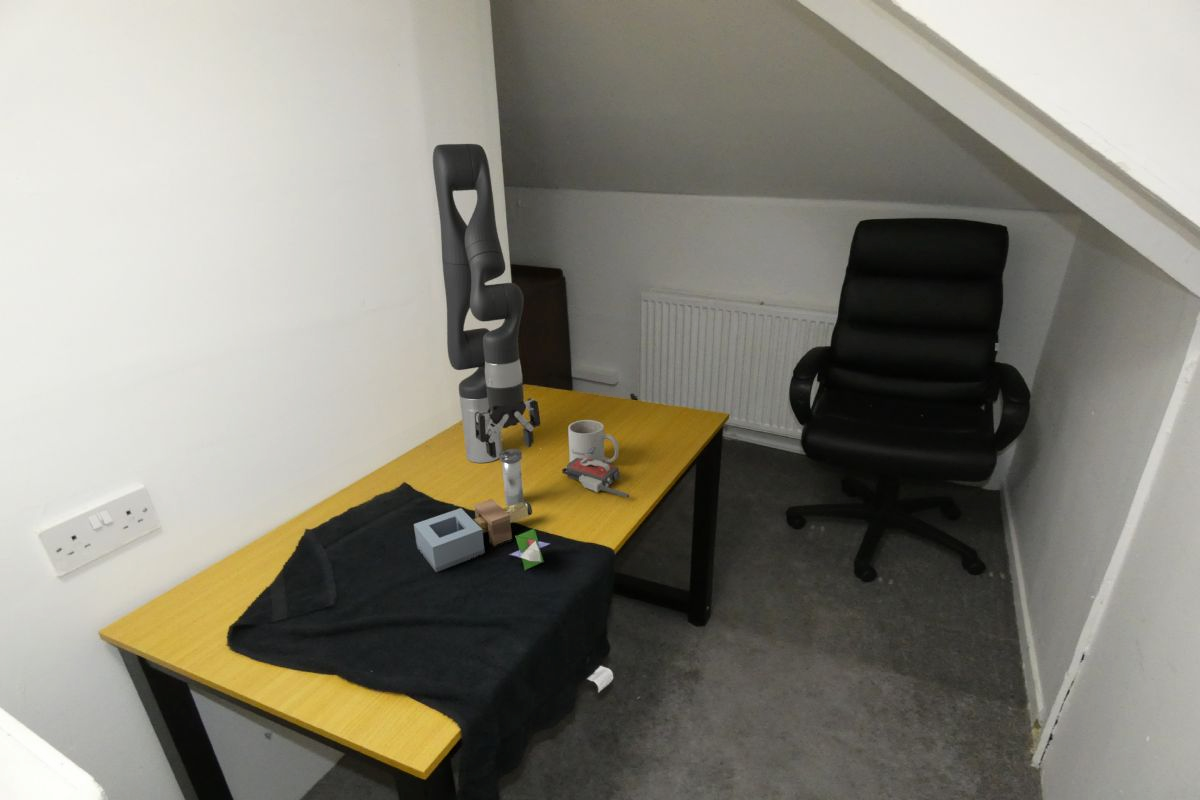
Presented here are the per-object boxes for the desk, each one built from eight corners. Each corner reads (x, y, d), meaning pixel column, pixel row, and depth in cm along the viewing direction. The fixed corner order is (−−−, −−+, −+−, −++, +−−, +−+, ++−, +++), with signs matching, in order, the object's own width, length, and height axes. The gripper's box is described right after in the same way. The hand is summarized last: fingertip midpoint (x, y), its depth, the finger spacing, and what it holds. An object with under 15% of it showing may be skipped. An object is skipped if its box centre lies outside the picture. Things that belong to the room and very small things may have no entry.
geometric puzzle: (500, 548, 126) (510, 530, 120) (530, 535, 130) (541, 517, 124) (517, 580, 124) (528, 564, 118) (548, 566, 127) (560, 550, 121)
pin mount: (477, 529, 137) (474, 504, 135) (494, 522, 139) (491, 498, 137) (494, 546, 131) (491, 521, 128) (511, 539, 133) (509, 515, 130)
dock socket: (417, 547, 131) (413, 524, 129) (463, 531, 136) (461, 508, 134) (436, 572, 123) (432, 547, 121) (484, 553, 128) (482, 529, 126)
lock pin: (474, 529, 133) (473, 517, 132) (525, 511, 140) (524, 498, 138) (480, 536, 131) (479, 523, 130) (532, 517, 137) (531, 504, 136)
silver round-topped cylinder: (500, 501, 147) (495, 453, 143) (519, 494, 150) (515, 447, 145) (510, 510, 143) (505, 460, 139) (529, 503, 146) (525, 454, 142)
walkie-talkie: (556, 479, 155) (626, 504, 144) (554, 463, 154) (625, 487, 143) (578, 463, 162) (647, 486, 151) (577, 448, 160) (647, 469, 149)
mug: (563, 467, 162) (561, 430, 158) (581, 453, 169) (579, 417, 165) (607, 477, 156) (606, 439, 152) (623, 463, 163) (623, 426, 159)
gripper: (525, 369, 143) (531, 437, 148) (464, 383, 135) (473, 454, 141) (542, 377, 137) (548, 448, 143) (480, 392, 129) (488, 466, 135)
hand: (510, 451), depth 142 cm, fingers open, 8 cm apart
